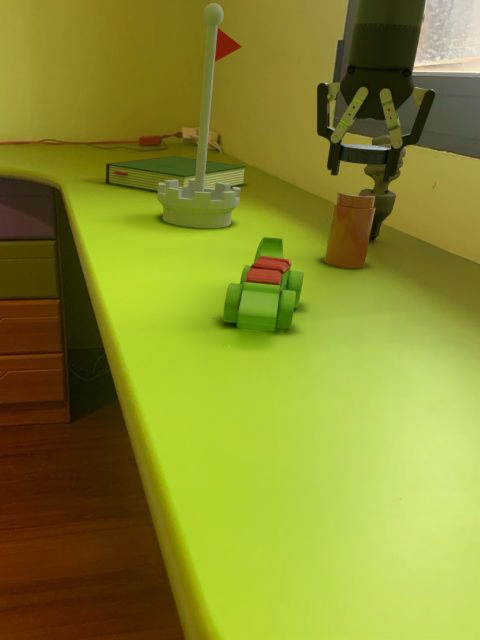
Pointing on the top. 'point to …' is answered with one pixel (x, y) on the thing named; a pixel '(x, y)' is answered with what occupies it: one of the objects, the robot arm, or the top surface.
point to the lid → (364, 154)
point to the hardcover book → (170, 172)
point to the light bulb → (381, 187)
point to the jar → (350, 229)
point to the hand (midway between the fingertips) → (360, 177)
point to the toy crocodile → (265, 290)
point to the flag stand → (203, 149)
